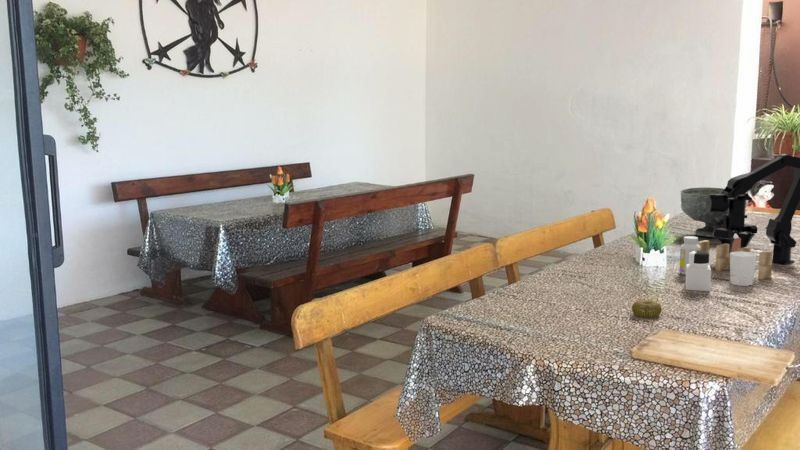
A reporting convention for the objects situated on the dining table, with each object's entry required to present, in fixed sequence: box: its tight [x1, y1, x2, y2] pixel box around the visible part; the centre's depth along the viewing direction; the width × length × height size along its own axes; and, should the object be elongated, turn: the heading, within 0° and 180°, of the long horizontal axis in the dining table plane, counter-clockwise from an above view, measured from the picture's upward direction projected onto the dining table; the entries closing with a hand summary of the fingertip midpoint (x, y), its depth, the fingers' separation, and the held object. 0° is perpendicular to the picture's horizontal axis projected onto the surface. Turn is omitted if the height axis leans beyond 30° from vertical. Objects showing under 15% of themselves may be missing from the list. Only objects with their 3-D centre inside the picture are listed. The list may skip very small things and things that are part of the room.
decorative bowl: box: [680, 186, 747, 238], centre depth 323 cm, size 26×26×20 cm
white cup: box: [729, 251, 758, 287], centre depth 242 cm, size 8×8×10 cm
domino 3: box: [728, 237, 741, 265], centre depth 272 cm, size 5×2×9 cm, turn 123°
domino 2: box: [715, 243, 730, 272], centre depth 262 cm, size 5×2×9 cm, turn 123°
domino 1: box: [697, 239, 710, 254], centre depth 269 cm, size 5×2×9 cm, turn 123°
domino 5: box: [757, 250, 773, 280], centre depth 249 cm, size 5×2×9 cm, turn 123°
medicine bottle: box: [685, 251, 712, 292], centre depth 237 cm, size 7×7×12 cm
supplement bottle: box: [679, 235, 701, 276], centre depth 257 cm, size 7×7×13 cm
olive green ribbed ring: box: [631, 299, 662, 319], centre depth 210 cm, size 8×4×8 cm
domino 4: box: [738, 246, 752, 252], centre depth 255 cm, size 5×2×9 cm, turn 123°
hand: (734, 254), depth 272 cm, fingers open, 9 cm apart
